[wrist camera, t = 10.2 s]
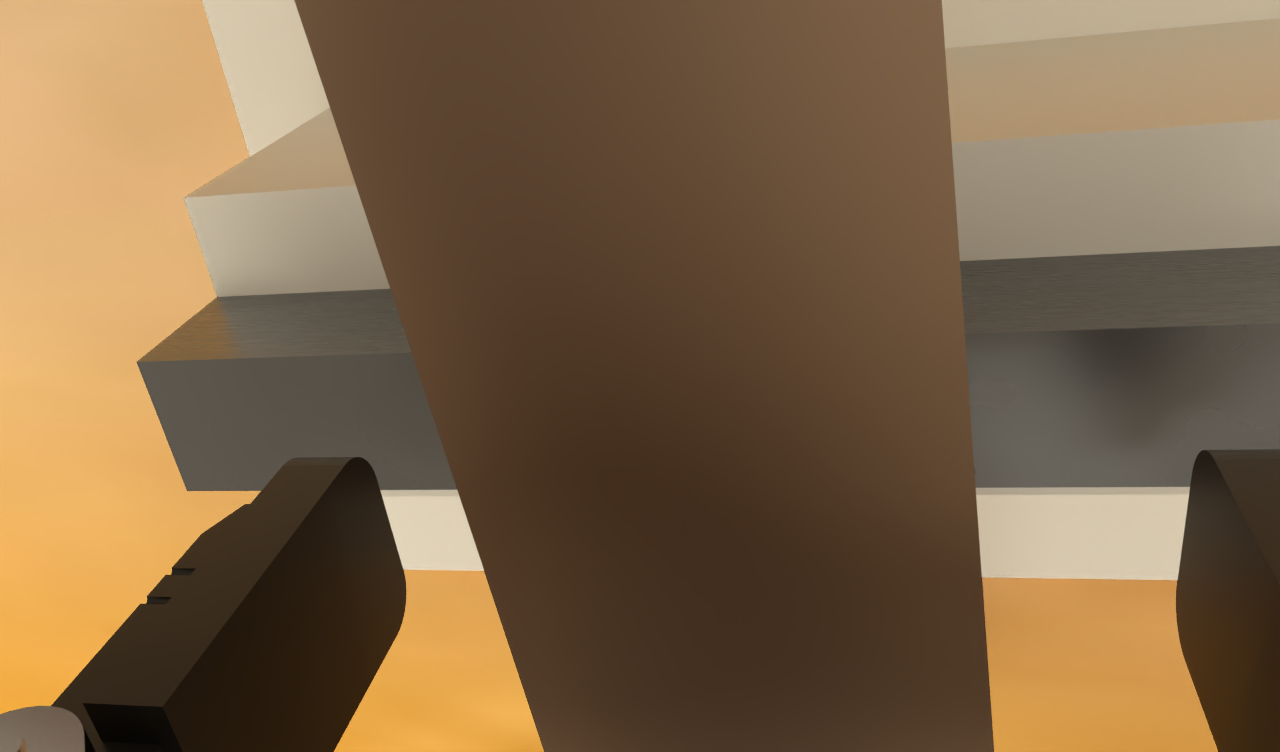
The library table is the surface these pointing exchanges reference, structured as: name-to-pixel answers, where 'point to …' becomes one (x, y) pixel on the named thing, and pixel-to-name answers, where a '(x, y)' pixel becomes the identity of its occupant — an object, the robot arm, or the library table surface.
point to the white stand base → (989, 262)
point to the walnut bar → (689, 353)
